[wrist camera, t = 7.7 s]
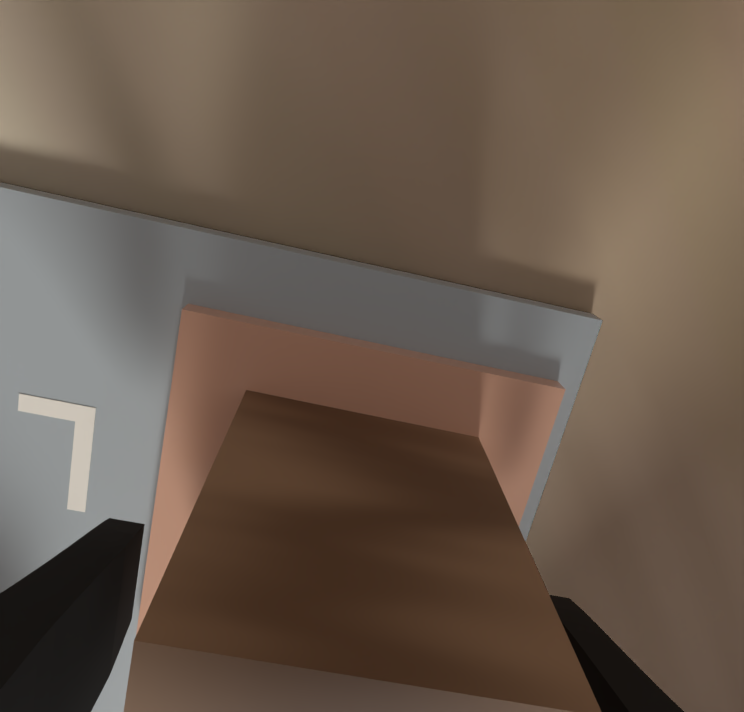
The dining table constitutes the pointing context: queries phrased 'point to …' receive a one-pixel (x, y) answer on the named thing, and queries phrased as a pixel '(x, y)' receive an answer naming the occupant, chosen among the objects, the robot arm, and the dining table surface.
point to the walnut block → (351, 579)
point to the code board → (158, 348)
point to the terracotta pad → (331, 405)
